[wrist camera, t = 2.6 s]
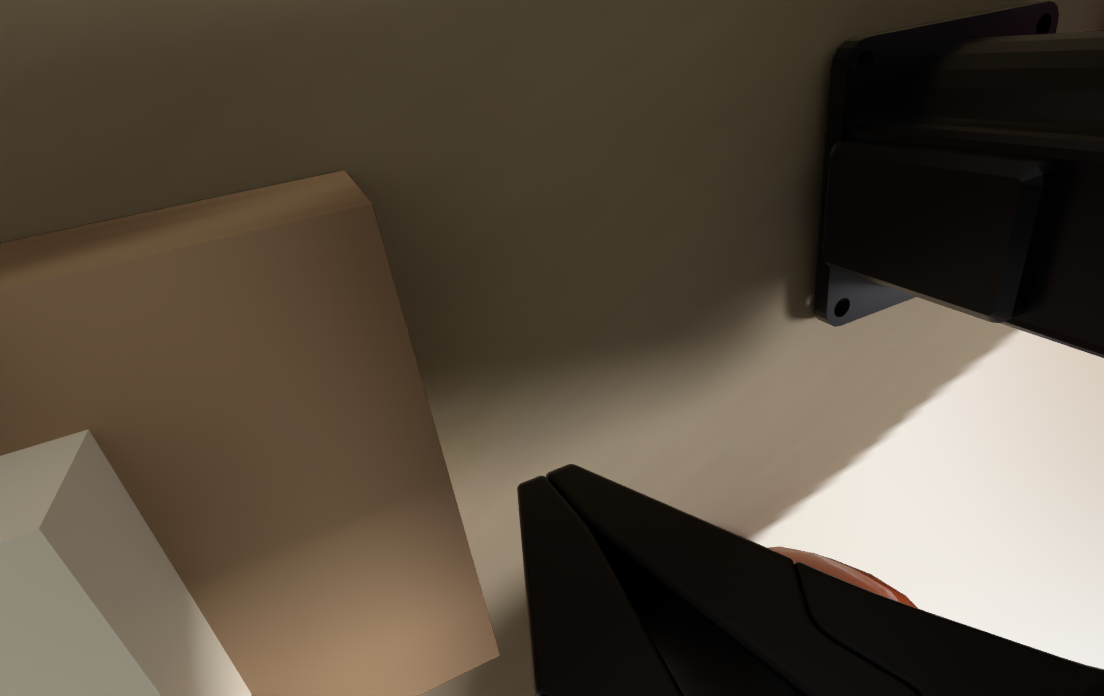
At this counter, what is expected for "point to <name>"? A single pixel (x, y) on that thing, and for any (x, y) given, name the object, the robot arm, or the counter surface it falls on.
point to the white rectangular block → (93, 587)
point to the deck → (258, 428)
